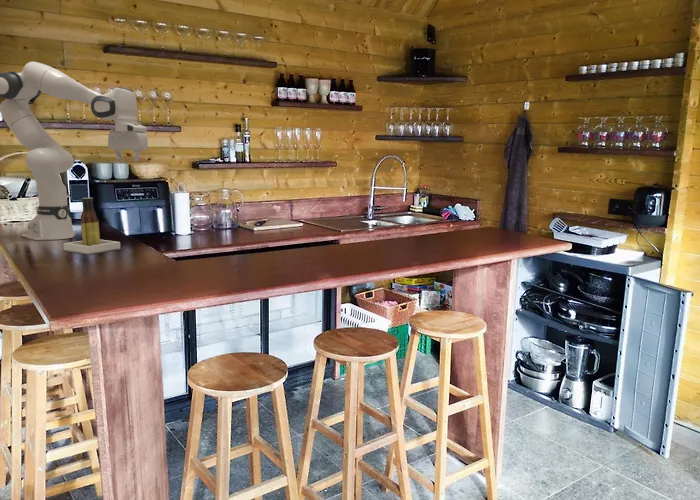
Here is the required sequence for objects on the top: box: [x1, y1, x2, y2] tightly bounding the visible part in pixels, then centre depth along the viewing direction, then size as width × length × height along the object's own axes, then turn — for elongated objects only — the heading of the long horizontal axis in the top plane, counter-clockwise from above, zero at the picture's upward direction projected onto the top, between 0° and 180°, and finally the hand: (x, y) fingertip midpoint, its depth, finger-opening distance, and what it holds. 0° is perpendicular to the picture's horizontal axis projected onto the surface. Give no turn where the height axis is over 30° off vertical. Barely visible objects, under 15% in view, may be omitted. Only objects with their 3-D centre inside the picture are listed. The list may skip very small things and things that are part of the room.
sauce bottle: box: [80, 197, 101, 246], centre depth 224 cm, size 7×6×20 cm
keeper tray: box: [62, 239, 121, 256], centre depth 225 cm, size 14×14×3 cm
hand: (128, 161), depth 243 cm, fingers open, 8 cm apart
